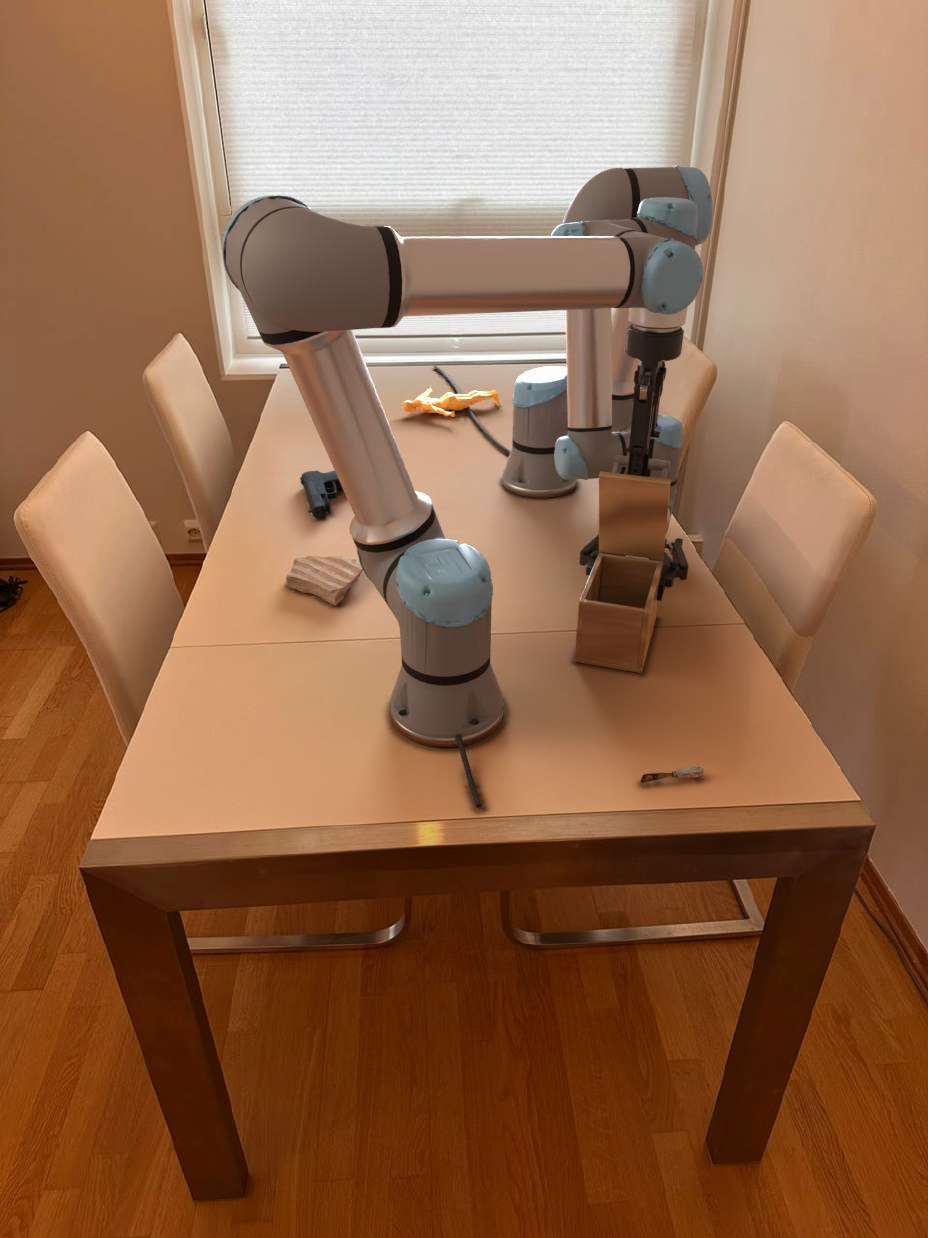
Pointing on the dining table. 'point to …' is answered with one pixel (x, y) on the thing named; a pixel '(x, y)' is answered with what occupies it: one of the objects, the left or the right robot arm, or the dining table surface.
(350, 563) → the stone
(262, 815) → the dining table surface
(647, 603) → the chest
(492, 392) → the human figure
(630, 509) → the lid
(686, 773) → the putty knife
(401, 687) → the left robot arm
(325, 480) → the handgun
